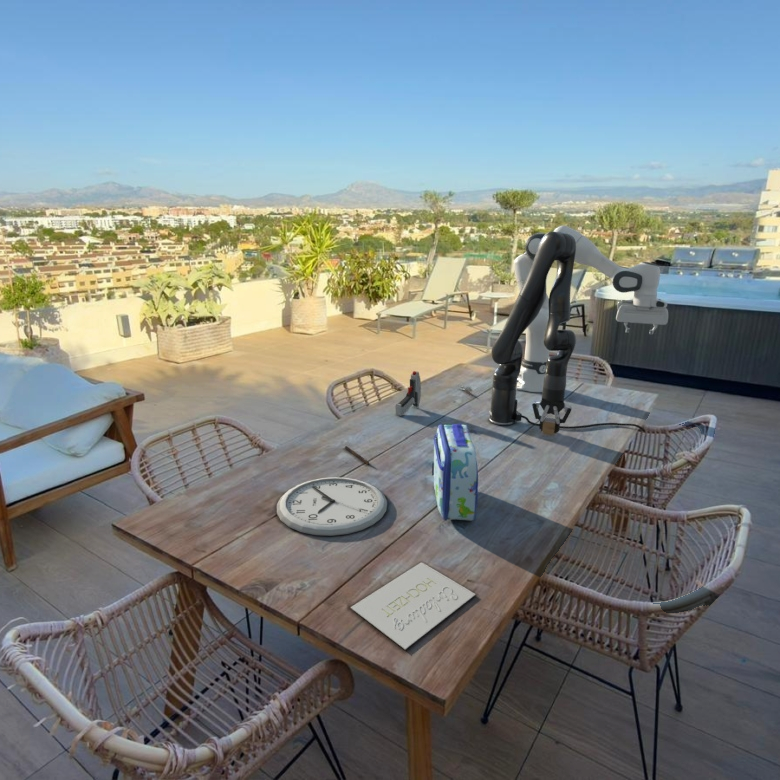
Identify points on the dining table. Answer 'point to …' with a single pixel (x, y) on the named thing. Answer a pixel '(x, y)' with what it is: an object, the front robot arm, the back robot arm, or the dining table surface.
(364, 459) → the dark brown stick
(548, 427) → the block
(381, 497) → the wall clock
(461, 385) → the fork
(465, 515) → the lunch box
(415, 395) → the toy gun
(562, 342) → the front robot arm
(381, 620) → the invitation card
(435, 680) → the dining table surface
